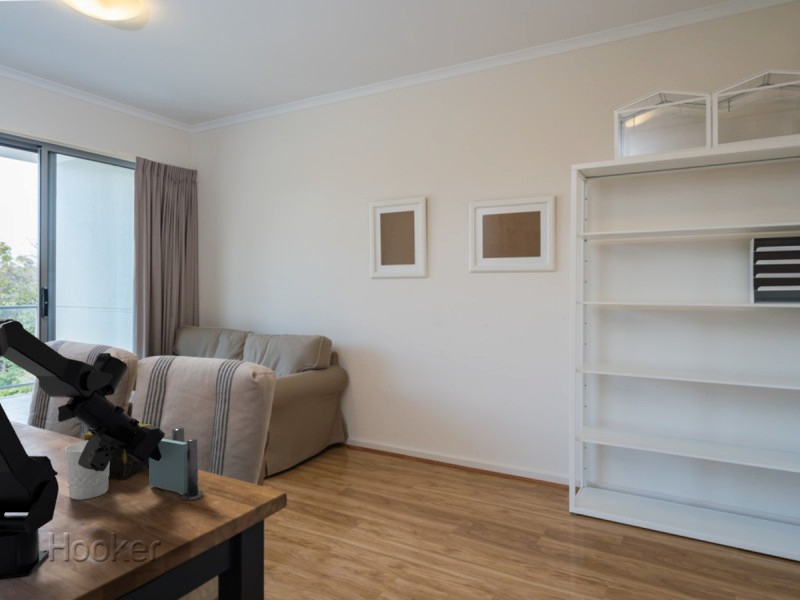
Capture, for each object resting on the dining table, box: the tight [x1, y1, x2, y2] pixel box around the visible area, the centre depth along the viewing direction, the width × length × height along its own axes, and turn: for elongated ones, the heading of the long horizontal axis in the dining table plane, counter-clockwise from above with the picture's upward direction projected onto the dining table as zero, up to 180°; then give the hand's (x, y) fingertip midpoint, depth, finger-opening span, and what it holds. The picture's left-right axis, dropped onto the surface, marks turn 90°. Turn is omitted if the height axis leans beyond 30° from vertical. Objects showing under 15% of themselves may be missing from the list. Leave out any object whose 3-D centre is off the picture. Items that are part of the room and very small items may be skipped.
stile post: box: [171, 426, 185, 442], centre depth 109 cm, size 3×3×12 cm
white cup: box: [64, 440, 110, 501], centre depth 103 cm, size 8×8×10 cm
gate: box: [148, 438, 188, 494], centre depth 104 cm, size 10×1×10 cm, turn 65°
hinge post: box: [181, 438, 204, 502], centre depth 101 cm, size 4×4×12 cm
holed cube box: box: [83, 423, 153, 481], centre depth 115 cm, size 10×10×10 cm
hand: (156, 457), depth 103 cm, fingers open, 2 cm apart
